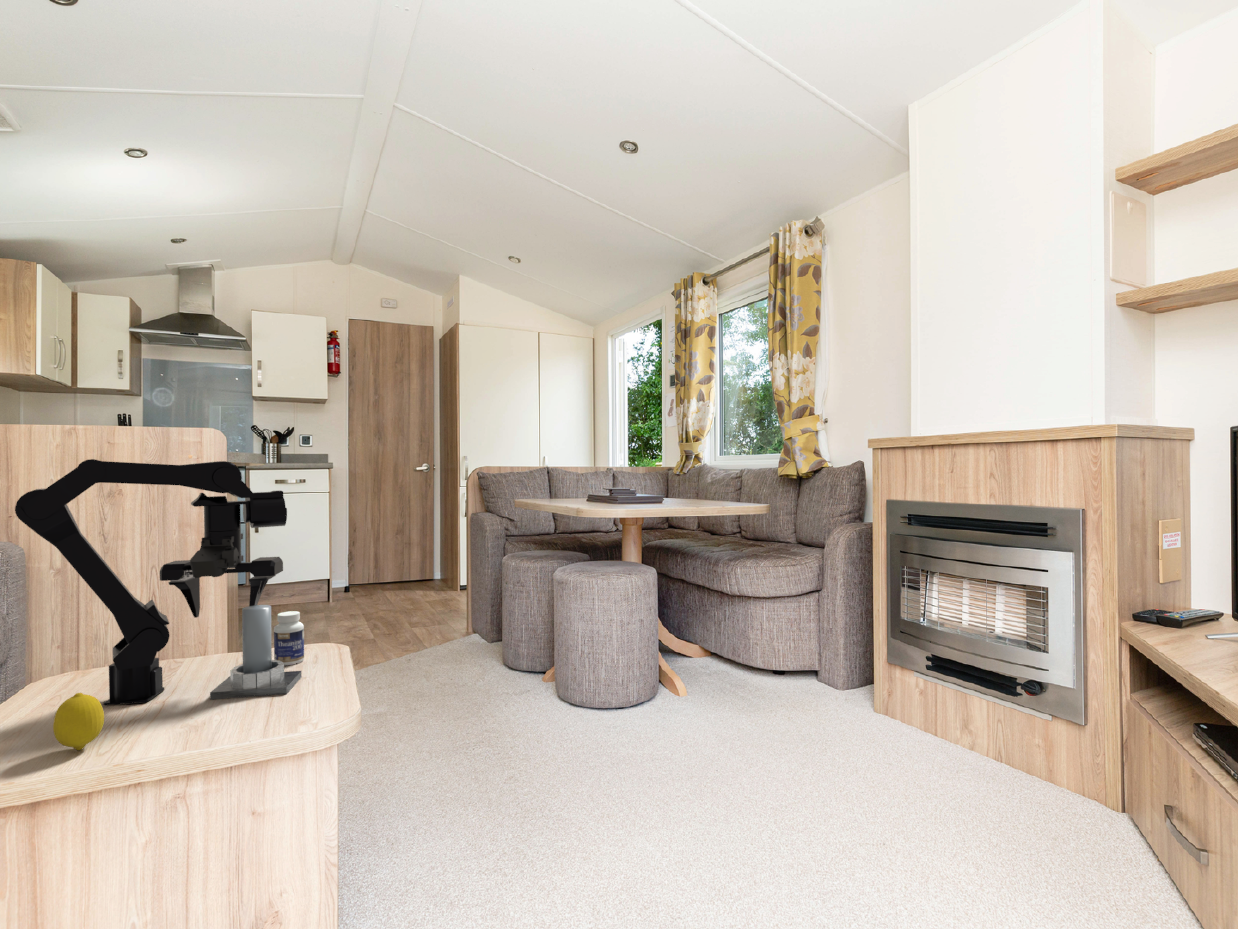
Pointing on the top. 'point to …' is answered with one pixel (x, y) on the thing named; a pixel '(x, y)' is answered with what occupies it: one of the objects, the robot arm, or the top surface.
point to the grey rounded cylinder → (256, 638)
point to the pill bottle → (289, 638)
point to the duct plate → (256, 682)
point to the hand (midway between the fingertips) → (224, 615)
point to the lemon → (78, 721)
